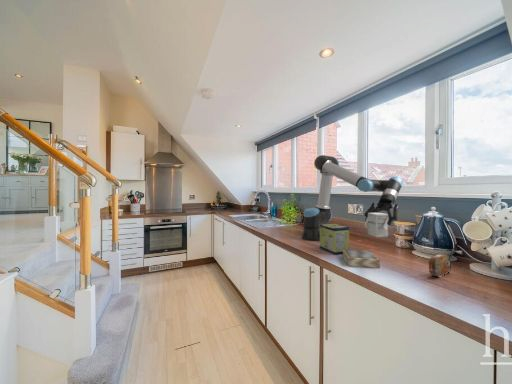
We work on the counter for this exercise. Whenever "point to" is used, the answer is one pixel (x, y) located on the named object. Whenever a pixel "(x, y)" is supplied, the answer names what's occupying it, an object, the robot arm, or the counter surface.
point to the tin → (439, 265)
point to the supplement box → (377, 224)
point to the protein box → (334, 238)
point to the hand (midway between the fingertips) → (374, 227)
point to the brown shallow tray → (361, 258)
